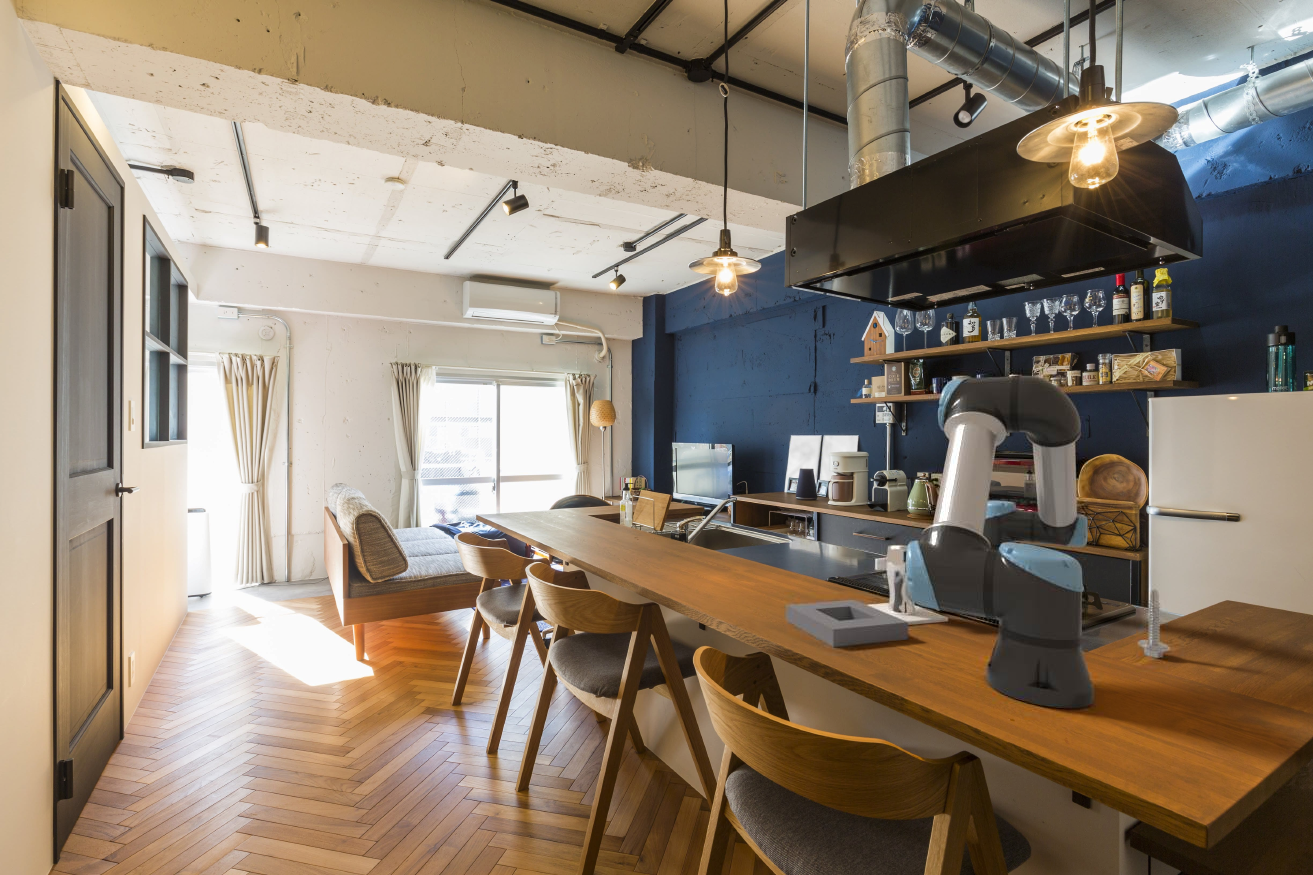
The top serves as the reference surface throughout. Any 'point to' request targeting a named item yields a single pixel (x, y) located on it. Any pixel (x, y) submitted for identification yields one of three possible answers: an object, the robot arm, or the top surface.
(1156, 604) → the screw
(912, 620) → the stone tile
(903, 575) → the metal tumbler
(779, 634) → the top surface
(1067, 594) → the robot arm
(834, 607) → the pocket holder
